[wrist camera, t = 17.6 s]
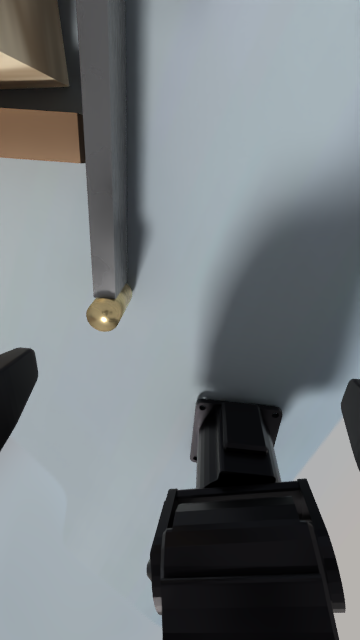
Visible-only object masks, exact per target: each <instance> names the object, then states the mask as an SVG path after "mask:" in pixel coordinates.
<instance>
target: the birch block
mask: <svg viewBox="0 0 360 640" xmlns="http://www.w3.org/2000/svg"><path fill="white" fill-rule="evenodd" d="M50 87H70V86H69V79H68V72H67V65H66V58H65V51H64V44H63V37H62V30H61V23H60V16H59V9H58V2H57V0H0V89H23V88H50Z"/></svg>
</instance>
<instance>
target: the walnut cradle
mask: <svg viewBox="0 0 360 640" xmlns="http://www.w3.org/2000/svg"><path fill="white" fill-rule="evenodd" d="M0 157H2V158H16V159H30V160H43V161H57V162H71V163H86V158H85V141H84V124H83V115H82V114H79V113H71V112H56V111H41V110H26V109H11V108H0Z"/></svg>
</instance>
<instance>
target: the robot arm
mask: <svg viewBox="0 0 360 640" xmlns="http://www.w3.org/2000/svg"><path fill="white" fill-rule="evenodd" d="M37 378H38V368H37V362H36V356H35V352H34V350H32V349H30V348H16V349H13V350H11V351H8V352H6V353H3V354H1V355H0V451H1V449H2V448H3V446H4V444H5V443H6V441H7V439H8V438H9V436H10V434H11V433H12V431H13V429H14V428H15V426H16V424H17V422H18V420H19V418H20V416H21V414H22V411H23V409H24V407H25V405H26V403H27V401H28V399H29V396H30V394H31V392H32V390H33V388H34V386H35V383H36V381H37ZM201 405H204V407H201ZM341 410H342V414H343V418H344V421H345V425H346V429H347V432H348V436H349V440H350V443H351V447H352V450H353V454H354V457H355V460H356V463H357V466H358V468H359V471H360V379H351V380H350V381H349V383H348V385H347V388H346V391H345V393H344V396H343V399H342V402H341ZM273 413H277V414H273ZM281 419H282V411H281V409H280V408H279V407H276V406H266V405H256V404H246V403H236V402H226V401H216V400H206V399H200V400H198V401H197V402H196V408H195V417H194V426H193V435H192V444H191V453H190V459H191V461H193V462H196V463H197V477H196V489H186V490H178V489H169V491H168V494H167V498H166V501H165V502H164V505H163V509H162V512H161V516H160V519H159V523H158V526H157V530H156V533H155V537H154V541H153V544H152V548H151V552H150V560H149V562H148V564H147V576H148V577H149V579H150V580H151V582H152V592H153V599H154V604H155V608H156V611H157V612H158V614H159V615H162V628H163V640H339V637H338V632H337V628H336V623H335V619H334V614H333V613H343V612H344V613H345V599H344V593H343V587H342V582H341V578H340V574H339V569H338V565H337V561H336V558H335V554H334V551H333V547H332V544H331V541H330V538H329V535H328V532H327V529H326V527H325V524H324V522H323V519H322V517H321V514H320V512H319V509H318V507H317V504H316V502H315V499H314V497H313V494H312V492H311V489H310V487H309V484H308V482H307V479H297V481H289V482H281V478H280V473H279V469H278V465H277V460H276V456H275V451H274V444H275V441H276V437H277V433H278V430H279V426H280V423H281Z"/></svg>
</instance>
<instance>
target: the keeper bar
mask: <svg viewBox="0 0 360 640" xmlns="http://www.w3.org/2000/svg"><path fill="white" fill-rule="evenodd" d="M76 7H77V24H78V41H79V57H80V74H81V91H82V108H83V124H84V141H85V158H86V175H87V191H88V208H89V225H90V242H91V258H92V275H93V292H94V297H95V298H96V299H95V300H94V301H93V303H92V304H91V305H90V306H89V308H88V310H87V313H86V316H87V320H88V322H89V324H90V325H91V326H92V327H93V328H95V329H97V330H99V331H104V332H106V331H111V330H113V329H114V328H115V327H116V326H117V325H118V323H119V321H120V319H121V317H122V315H123V314H124V312H125V310H126V308H127V306H128V304H129V302H130V300H131V298H132V290H131V288H130V286H129V285H128V284H127V283H126V282H127V153H126V25H125V0H76Z"/></svg>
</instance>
